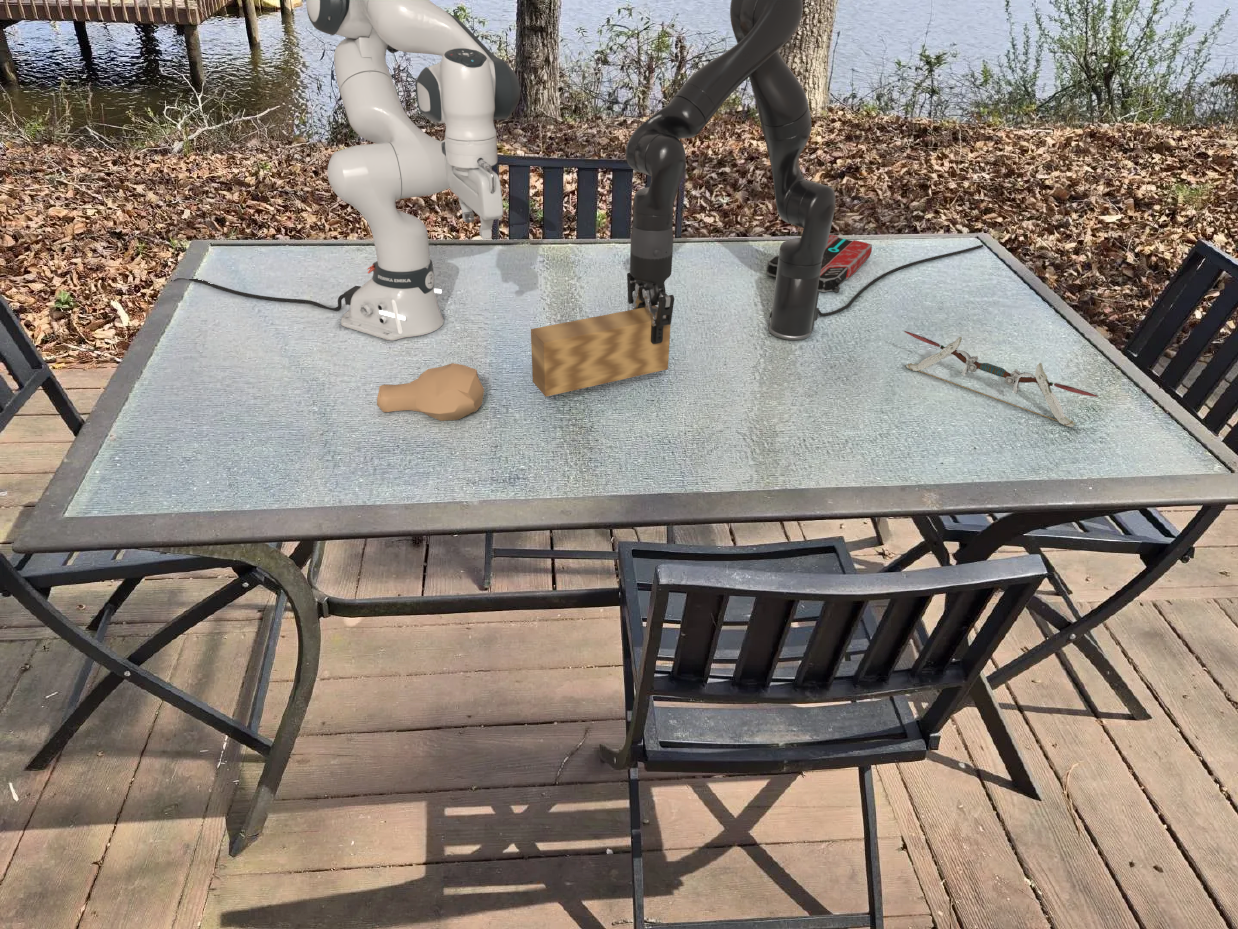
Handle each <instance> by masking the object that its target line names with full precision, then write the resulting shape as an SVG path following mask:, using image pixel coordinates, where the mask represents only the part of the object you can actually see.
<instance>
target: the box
mask: <svg viewBox="0 0 1238 929" xmlns="http://www.w3.org/2000/svg"><path fill="white" fill-rule="evenodd" d="M652 308H658V305H655V306H652ZM655 316H656V319H657V312H656V313H655ZM665 318H666V315H665ZM671 324H672V323H671ZM671 324H670V325H665V326H664V327H663V341H662V342H661V343H658V344H653V343H651V325H652V323H651V318H650V314H648V313H647V309H646V307H644V308H638V309H633V308H632V309H628V310H622V311H617V312H613V313H608V314H601V315H597V316H593V317H586V318H581V319H576V320H571V321H566V322H560V323H555V324H550V325H545V326H539V327H533V328H530V348H531V370H532V372H531V373H532V383H533V384H534V386H536V388H537V389H538V390H539V391H540V393H542V394H543V396H544V397H546V398H547V397H550V396H555V395H560V394H563V393H568V392H573V391H577V390H581V389H586V388H590V387H595V386H600V385H603V384H609V383H612V382H617V381H622V380H626V379H630V378H631V379H632V378H636V377H640V376H645V375H649V374H653V373H657V372H661V371H666V370H667V371H668V369H669V362H670V361H669V359H670V342H671Z"/></svg>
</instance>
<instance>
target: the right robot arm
mask: <svg viewBox="0 0 1238 929" xmlns="http://www.w3.org/2000/svg"><path fill="white" fill-rule="evenodd" d="M803 5H804V4H803V0H730V6H729V18H730V24H731V29H732V32H733V35H734V38H735V40H736V44H734V46H732V47H731V48H730V49H728V50H726V51H725V52H724V53H722V54H721V55H719V56H717V57H715V58H714V59H712V60H711V61H709V62H708V63H706V64H705V65H703V66H701V67H700V68H698V69H697V70H696V71H695V72H694V73H693V74H692V75H691V76H690V77H688V79H687V80H686V81H685V82H684V84H683V85H682V86H681V87H680V89H679V90H678V91H677V92H676V93H675V95H674V96H673V98H672V99H671V100H670V102H669V103H668V104H667V105H665V106H664V107H663V108H661V109H660V110H658V111H657V112H655V113H654V114H653V115H652V116H650V117H649V118H648V119H646V120H645V121H644V122H643V123H642V124H640V125H639V126H638V127H637V128H636V129H635V130H634V132H633V133H632V134H631V136H630V137H629V139H628V141H627V143H626V148H625V160H626V162H627V165H628V166H629V167H630V168H631V169H632V170H634V171H635V172H638V173H641V174H643V175H647V176H648V177H651V178H650V184H649V187H642V188H640V189H638V190H637V191H635V194H634V196H633V202H632V225H631V226H632V227H631V234H630V249H629V251H630V253H629V254H630V255H629V272H627V273H626V281H627V283H626V284H627V303H628V305H632V306H631V308H632V310H633V309H638V308H644V307H646V309H647V313H648V314H650V318H651V323H652V325H651V343H653V344H658V343H661V342H662V341H663V327H664V326H665V325H670V324H672V320H673V313H674V305H675V296H674V294H669V295H668V294H667V293H666V284H665V282H666V280H668V279H669V278H670V277H671V276H672V271H673V270H672V269H673V254H674V253H673V252H674V250H673V249H674V231H673V229H674V228H673V223H674V208H675V207H674V203H675V200H676V197H677V195H678V192H679V188H680V185H681V182H682V178H683V175H684V172H685V169H686V163H687V155H686V149H685V147H684V144H683V142H682V141H681V140H680V139H692V138H695V137H697V135H699V134H700V133H701V132H702V130H704V128H705V127H706V125H707V124H708V123H709V121H710V120H712V118H713V117H714V115H715V114H716V113H717V112H718V110H719V109H720V107H722V105H724V103H725V102H726V100H727V99H728V98H729V97H730V96H731V95H732V94H733V93H734V92H735V91H736V90H737V89H738V88H739V87H740V86H741V85H742V84H743V83H744V82H745V81H746V80H747V79H749V81H750V82H749V83H750V85H751V88H752V92H753V96H754V100H755V104H756V109H757V114H758V120H759V122H760V125H761V126H760V127H761V131H762V133H763V137H764V142H765V146H766V149H767V154H768V159H769V163H770V168H771V174H772V183H773V190H774V199H775V205H776V210H777V213H778V215H779V217H780V219H781V220H782V221H783V222H785V223H787V224H789V225H792V226H795V227H799V228H802V232H801V236H800V237H798V238H797V237H796V238H790V239H787V240H785V241H783V242H782V243H781V244H780V247H779V253H778V255H779V259H778V266H777V274H776V277H775V282H774V291H773V298H772V305H771V311H770V313H769V320H770V321H769V326H768V332H769V333H770V334H771V335H772V336H774V337H776V338H778V339H781V340H786V341H802V340H806V339H808V338H810V337H811V335H812V332H813V331H814V328H815V322H816V321H818V317H819V316H820V317H828V316H832V315H836V314H838V313H840V312H842V311H845V310H847V309H848V308H850V307H851V306H852V304H853V303H854V302H855V300H856V299H857V298H859V297H860V296H861V294H863V293H864V292H865V291H866V290H867V289H869V287H871V286H872V285H873V284H875V283H877V282H878V281H879V280H881V279H883V278H885V277H886V276H888V275H891V274H893V273H896V272H897V271H901V270H903V269H906V268H909V267H912V266H915V265H918V264H922V263H926V262H930V261H934V260H938V259H942V258H946V257H950V256H955V255H960V254H964V253H966V252H972V251H974V250H975V251H976V250H978V249H981V248H984V244H979V245H975V246H972V247H969V248H965V249H961V250H957V251H953V252H949V253H944V254H939V255H935V256H932V257H927V258H923V259H919V260H916V261H912V262H909V263H906V264H904V265H903V264H902V265H900V266H897V267H895V268H893V269H891V270H889V271H886V272H885V273H883V274H882V273H881V275H879V276H877V277H876V278H874V279H873V280H871V281H870V282H868V283H867V284H866V285H864V287H863V288H861V289H860V290H859V291H858V292H857V293H856V294H855V295H853V297H852V298H851V299H850V301H849V302H848V303H847V304H845V305H844V306H842V307H840V308H837V309H836V310H833V311H828V312H822V311H821V310H820V308H819V307H818V303H819V296H820V291H818V285H819V278H820V272H821V265H822V259H823V254H824V252H825V249H826V247H827V244H828V240H829V235H830V234H831V230H832V226H833V225H832V224H833V221H834V216H835V211H836V204H837V198H836V193H835V190H834V188H833V187H831V186H829V185H826V184H823V183H819V182H815V181H811V180H808V179H805V178H804V175H803V174H802V170H801V164H800V157H801V156H802V153H803V151H804V149H805V147H806V145H807V143H808V141H809V140H810V137H811V133H812V129H813V128H812V127H813V125H812V117H811V111H810V107H809V101H808V98H807V94H806V92H805V89H804V88H803V86H802V84H801V82H800V81H799V79H798V78H797V77H796V76H795V74H794V72H793V71H792V70H791V69H790V67H789V66H788V64H787V63H786V61H785V60H784V59H783V57H782V56H781V54H780V51H779V50H780V49H781V48H783V46H784V45H785V44H786V43H787V42H788V41H789V40H790V39H791V38H792V37H793V35H794V34H795V33H796V31H797V30H798V27H799V25H800V23H801V22H802V21H801V20H802V17H803V10H804V7H803ZM655 305H656V306H657V307H658V308H652V306H655ZM656 312H657V319H656V316H655V313H656ZM665 315H666V318H665Z"/></svg>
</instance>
